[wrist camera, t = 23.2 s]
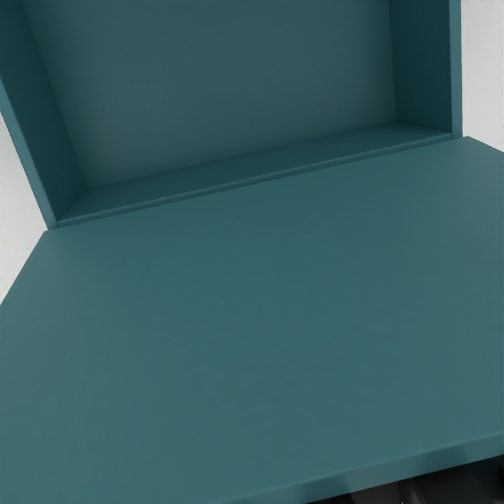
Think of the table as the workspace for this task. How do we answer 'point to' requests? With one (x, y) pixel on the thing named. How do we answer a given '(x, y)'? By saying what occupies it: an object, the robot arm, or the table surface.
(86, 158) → the teal lidded box
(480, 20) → the table surface
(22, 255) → the table surface
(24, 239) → the table surface
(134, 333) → the lid
